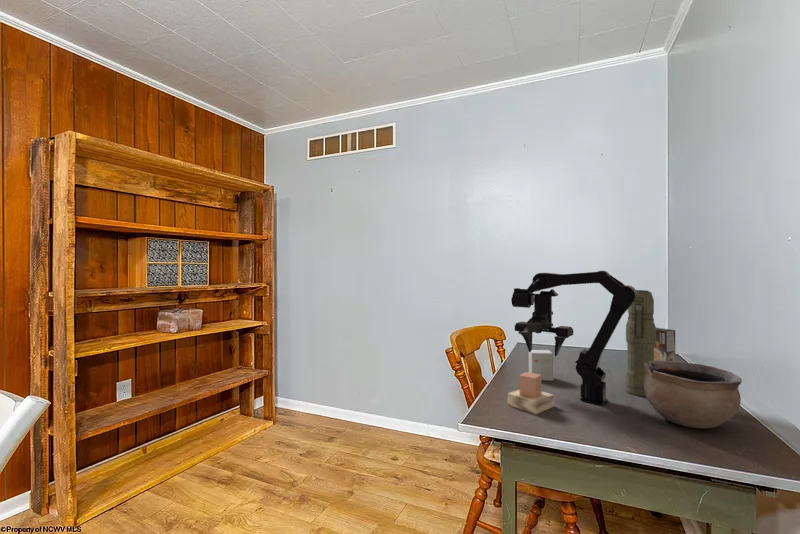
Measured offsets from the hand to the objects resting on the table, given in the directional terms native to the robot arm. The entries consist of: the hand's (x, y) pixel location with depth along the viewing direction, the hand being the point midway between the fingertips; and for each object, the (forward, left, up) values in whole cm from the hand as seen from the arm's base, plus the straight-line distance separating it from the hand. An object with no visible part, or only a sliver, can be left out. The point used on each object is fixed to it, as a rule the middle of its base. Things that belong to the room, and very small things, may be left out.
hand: (542, 353), depth 136 cm
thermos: (-25, -21, -13) cm, 35 cm away
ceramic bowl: (-41, -2, -13) cm, 43 cm away
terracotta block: (-3, +16, -9) cm, 19 cm away
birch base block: (-3, +16, -13) cm, 21 cm away
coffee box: (-23, -66, -13) cm, 71 cm away
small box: (+7, -14, -13) cm, 21 cm away
